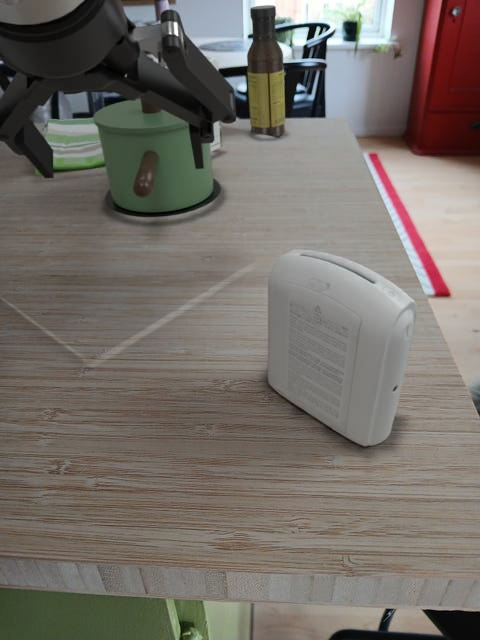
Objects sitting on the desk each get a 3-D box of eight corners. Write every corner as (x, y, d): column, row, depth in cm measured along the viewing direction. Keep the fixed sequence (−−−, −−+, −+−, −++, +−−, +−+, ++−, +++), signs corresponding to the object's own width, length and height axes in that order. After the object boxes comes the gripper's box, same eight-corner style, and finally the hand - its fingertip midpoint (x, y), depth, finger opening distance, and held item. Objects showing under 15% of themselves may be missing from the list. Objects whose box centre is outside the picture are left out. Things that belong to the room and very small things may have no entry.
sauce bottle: (282, 128, 95) (283, 2, 83) (287, 138, 90) (288, 6, 78) (248, 130, 95) (243, 5, 83) (250, 141, 90) (246, 9, 78)
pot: (118, 174, 77) (101, 87, 69) (215, 168, 77) (209, 81, 70) (86, 254, 57) (58, 144, 50) (216, 246, 57) (207, 136, 50)
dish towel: (137, 128, 99) (134, 109, 97) (147, 168, 81) (143, 146, 79) (46, 138, 97) (41, 119, 95) (34, 182, 79) (28, 159, 76)
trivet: (81, 209, 70) (79, 202, 69) (156, 170, 81) (155, 164, 80) (174, 234, 63) (173, 226, 62) (242, 187, 73) (242, 181, 73)
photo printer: (404, 423, 37) (436, 278, 30) (371, 459, 35) (396, 310, 27) (294, 360, 43) (298, 226, 36) (259, 387, 41) (256, 249, 33)
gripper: (-224, 49, 25) (-14, 207, 46) (287, 20, 25) (264, 190, 46) (-216, -86, 26) (-14, 129, 47) (275, -112, 26) (257, 112, 47)
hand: (124, 159), depth 47 cm, fingers open, 13 cm apart
